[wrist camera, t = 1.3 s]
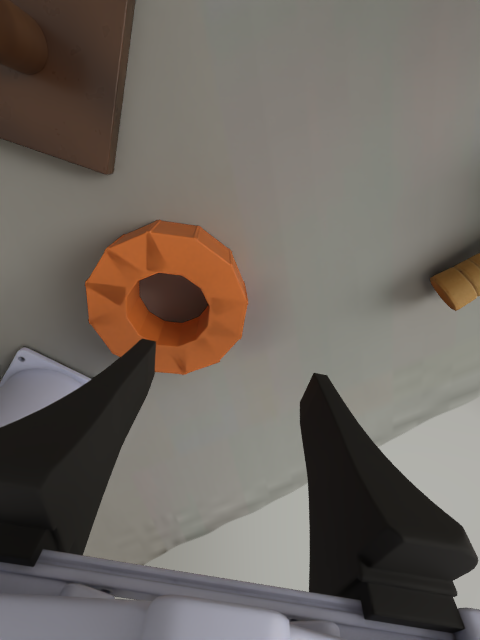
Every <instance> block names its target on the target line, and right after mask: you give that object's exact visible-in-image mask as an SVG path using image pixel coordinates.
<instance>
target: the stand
mask: <svg viewBox="0 0 480 640" xmlns="http://www.w3.org/2000/svg"><path fill="white" fill-rule="evenodd" d="M134 6H135V0H0V138H1V139H4V140H7V141H10V142H13V143H16V144H19V145H22V146H25V147H28V148H30V149H33V150H36V151H39V152H42V153H45V154H48V155H51V156H54V157H57V158H60V159H62V160H65V161H68V162H71V163H74V164H77V165H80V166H83V167H86V168H89V169H91V170H94V171H97V172H100V173H103V174H106V175H107V174H113V172H114V164H115V156H116V148H117V140H118V132H119V124H120V116H121V109H122V101H123V93H124V85H125V77H126V69H127V61H128V54H129V46H130V38H131V30H132V22H133V14H134Z"/></svg>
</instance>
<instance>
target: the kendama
mask: <svg viewBox="0 0 480 640" xmlns="http://www.w3.org/2000/svg"><path fill="white" fill-rule="evenodd" d="M430 281H431V284H432V286H433V287H434V289H435V291H436V292H437V293H438V295H439V296H440V297H441V298H442V299H443V301H444V302H445V303H446V304H447V305H448V306H449V307H450V308H451V309H453V310H455V311H456V310H459V309H460V308H462V307H463V306H465V305H467V304H468V303H470V302H471V301H473V300H474V299H476V298H477V296H480V253H478V254H476V255H474V256H473V257H470V258H469V259H467V260H465V261H463V262H461V263H459V264H457V265H455V266H454V267H453V268H449V269H447V270H445V271H443V272H441V273H439V274H437V275H435V276H433V277H431V278H430Z"/></svg>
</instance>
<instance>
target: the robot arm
mask: <svg viewBox="0 0 480 640" xmlns="http://www.w3.org/2000/svg"><path fill="white" fill-rule="evenodd" d="M155 355H156V341H152V340H147V339H141V340H139V341H138V342H137V343H136V344H135V345H134V346H133V347H132V348H131V349H129V350H128V351H127V352H126V353H125V354H124V355H122V356H121V357H120V358H119V359H118V360H116V361H115V362H114V363H113V364H111V365H110V366H109V367H108V368H106V369H105V370H104V371H102V372H101V373H100V374H98V375H97V376H95V377H94V378H93V379H91V378H89V377H87V376H85V375H82V374H80V373H78V372H76V371H74V370H72V369H70V368H68V367H66V366H64V365H62V364H60V363H58V362H56V361H53V360H51V359H49V358H47V357H45V356H43V355H41V354H39V353H37V352H35V351H33V350H31V349H29V348H25V347H23V348H21V349H20V350H19V351H18V352H17V353H16V355H15V357H14V359H13V360H12V362H11V364H10V366H9V368H8V369H7V371H6V373H5V375H4V377H3V378H2V380H1V382H0V640H480V610H479V609H473V608H459V609H457V606H456V604H455V602H454V599H453V597H455V596H457V591H456V588H455V586H454V584H453V580H455V579H457V578H459V577H460V576H462V575H464V574H466V573H468V572H470V571H471V570H472V569H474V568H475V566H476V565H477V563H478V557H477V555H476V553H475V551H474V549H473V547H472V545H471V543H470V541H469V538H468V536H467V535H466V532H465V530H464V529H463V527H462V526H461V525H460V524H459V523H458V522H456V521H455V520H454V519H453V518H451V517H450V516H449V515H448V514H446V513H445V512H444V511H443V510H442V509H440V508H439V507H438V506H437V505H435V504H434V503H433V502H432V501H431V500H430V499H428V497H426V496H425V495H424V494H423V493H422V492H421V491H420V490H419V489H417V488H416V487H415V486H414V485H413V484H412V483H411V482H410V481H409V480H408V479H407V478H406V477H405V476H404V475H403V474H402V473H401V472H400V471H399V470H398V469H397V468H396V467H395V466H394V465H393V464H392V463H391V462H390V461H389V460H388V459H387V458H386V456H385V455H384V454H383V453H382V452H381V451H380V449H379V448H378V447H377V446H376V445H375V444H374V442H373V441H372V440H371V439H370V438H369V436H368V435H367V434H366V432H365V431H364V430H363V428H362V427H361V426H360V424H359V423H358V422H357V420H356V419H355V418H354V416H353V415H352V413H351V412H350V410H349V409H348V407H347V406H346V404H345V403H344V401H343V400H342V398H341V397H340V395H339V394H338V392H337V390H336V389H335V387H334V386H333V384H332V383H331V381H330V379H329V378H328V376H327V375H322V374H317V373H314V374H313V376H312V378H311V380H310V382H309V384H308V386H307V389H306V391H305V393H304V395H303V397H302V399H301V401H300V426H301V434H302V441H303V448H304V454H305V461H306V468H307V476H308V491H309V520H310V574H309V592H306V591H298V590H293V589H286V588H281V587H275V586H268V585H262V584H256V583H250V582H243V581H237V580H231V579H225V578H219V577H212V576H206V575H200V574H194V573H188V572H182V571H175V570H169V569H163V568H157V567H151V566H144V565H138V564H132V563H126V562H120V561H113V560H107V559H101V558H95V557H89V556H83V553H84V550H85V547H86V544H87V541H88V538H89V535H90V532H91V529H92V526H93V523H94V520H95V517H96V514H97V511H98V509H99V506H100V503H101V500H102V497H103V494H104V492H105V489H106V486H107V484H108V481H109V478H110V476H111V473H112V470H113V468H114V465H115V462H116V460H117V457H118V455H119V452H120V449H121V447H122V445H123V443H124V440H125V438H126V436H127V434H128V432H129V430H130V428H131V426H132V424H133V422H134V420H135V418H136V416H137V414H138V412H139V410H140V408H141V406H142V404H143V402H144V400H145V398H146V396H147V394H148V391H149V388H150V386H151V383H152V380H153V377H154V374H155ZM21 357H23V358H24V359H23V358H21ZM114 596H115V597H121V598H128V599H134V600H124V599H115V598H114Z"/></svg>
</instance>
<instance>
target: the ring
mask: <svg viewBox="0 0 480 640" xmlns="http://www.w3.org/2000/svg"><path fill="white" fill-rule="evenodd" d="M157 273H165V274H173V275H181V276H183V277H185V278H186V279H188V280H189V281H191V282H192V283H193V284H195V285H196V286H198V287H199V288H201V290H202V292H203V294H204V296H205V298H206V300H207V302H208V304H209V305H208V306H207V307H206V309H205V310H204V311H203V312H202V314H201V315H200V316H199V317H197V318H194V319H192V320H189V321H186V322H184V323H178V322H169V321H164V320H162V319H160V318H159V317H157V316H155V315H154V314H152V313H151V312H149V311H148V309H147V308H146V306H145V304H144V303H143V301H142V300H141V298H140V296H139V280H142V279H144V278H147V277H149V276H152V275H154V274H157ZM85 286H86V294H87V304H88V314H89V319H88V321H89V324H91V325H92V326H93V328H94V329H95V330H96V332H97V333H98V334H99V336H100V337H101V338H102V340H103V341H104V342H105V344H106V345H107V346H108V348H109V349H110V350H111V353H113V354H115V355H117V356H119V357H121V356H122V355H124V354H125V353H126V352H127V351H128V350H129V349H131V348H132V347H133V346H134V345H135V344H136V343H137V342H138V341H139V340H141V339H147V340H152V341H156V355H155V372H163V373H175V374H182V375H184V374H187V373H189V372H192V371H195V370H198V369H201V368H204V367H207V366H209V365H212V364H215V363H218V362H220V359H221V358H222V357H223V356H224V355H225V354H226V353H227V352H228V351H229V350H230V349H231V347H232V346H233V345H234V344H235V343H236V342H237V341H238V340H239V339H241V337H242V331H243V325H244V320H245V314H246V309H247V305H248V298H247V293H246V288H245V283H244V281H243V279H242V277H241V274H240V272H239V270H238V267H237V265H236V262H235V260H234V257H233V255H232V251H231V250H230V249H228V248H227V247H225V246H224V245H223V244H222V243H220V242H219V241H218V240H216V239H215V238H214V237H212V236H211V235H210V234H209V233H207V232H206V231H205V230H203V229H202V228H201V227H200V226H198V225H197V226H194V225H187V224H180V223H173V222H167V221H161V220H156V221H155V222H153V223H151V224H149V225H146V226H144V227H142V228H139V229H137V230H135V231H132V232H130V233H128V234H123V235H122V236H121V237H120V238H118V239H117V240H116V241H115V242H113V243H112V244H111V245H110V246H109V247H107V248H106V249H105V252H104V254H103V255H102V257H101V259H100V260H99V262H98V264H97V265H96V267H95V269H94V270H93V272H92V274H91V275H90V277H89V279H88V280H86V281H85Z"/></svg>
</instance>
